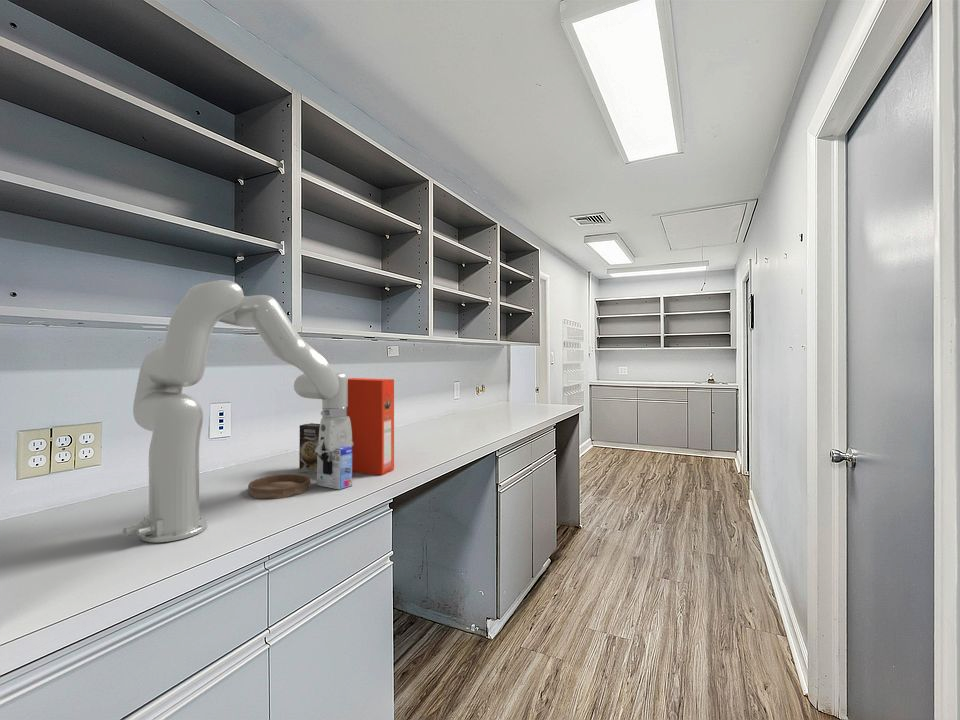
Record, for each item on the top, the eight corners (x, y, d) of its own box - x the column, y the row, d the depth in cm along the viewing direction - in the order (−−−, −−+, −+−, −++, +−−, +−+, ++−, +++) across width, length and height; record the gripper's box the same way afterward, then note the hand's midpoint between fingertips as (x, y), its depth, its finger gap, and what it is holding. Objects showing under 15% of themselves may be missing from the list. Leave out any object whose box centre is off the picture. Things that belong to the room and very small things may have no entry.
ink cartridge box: (353, 485, 140) (353, 438, 140) (340, 490, 135) (340, 442, 135) (329, 481, 144) (329, 436, 144) (316, 486, 139) (316, 439, 139)
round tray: (275, 502, 124) (275, 492, 124) (236, 493, 131) (236, 484, 131) (321, 486, 139) (321, 478, 139) (284, 479, 146) (284, 471, 146)
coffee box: (298, 472, 156) (298, 425, 155) (310, 467, 162) (310, 422, 162) (320, 474, 153) (321, 426, 153) (332, 469, 159) (332, 424, 159)
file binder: (381, 475, 152) (381, 380, 151) (338, 470, 158) (339, 379, 157) (394, 470, 159) (394, 379, 159) (352, 465, 165) (353, 378, 165)
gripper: (322, 417, 130) (322, 480, 130) (363, 410, 145) (363, 467, 146) (304, 415, 134) (304, 476, 134) (346, 409, 149) (345, 464, 149)
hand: (335, 471), depth 140 cm, fingers closed on ink cartridge box, 5 cm apart
